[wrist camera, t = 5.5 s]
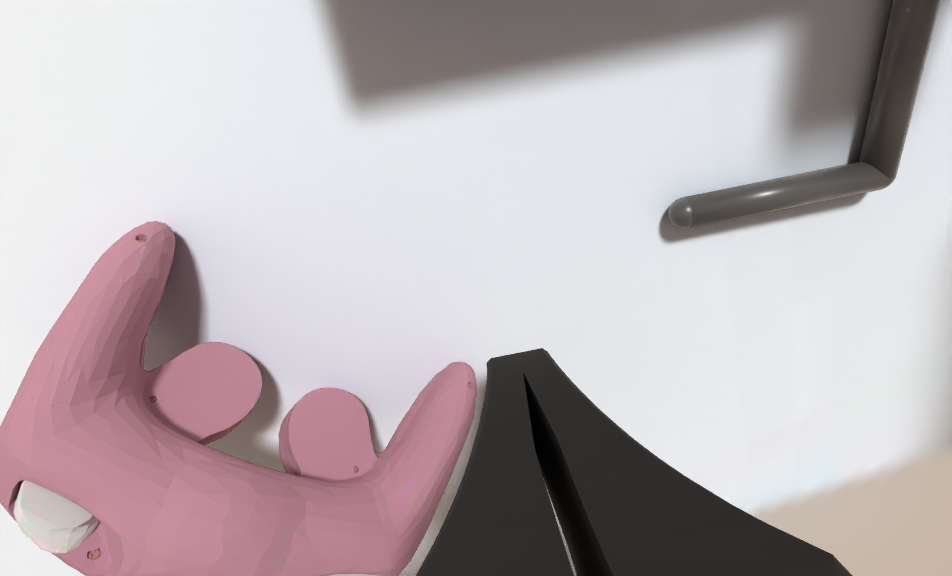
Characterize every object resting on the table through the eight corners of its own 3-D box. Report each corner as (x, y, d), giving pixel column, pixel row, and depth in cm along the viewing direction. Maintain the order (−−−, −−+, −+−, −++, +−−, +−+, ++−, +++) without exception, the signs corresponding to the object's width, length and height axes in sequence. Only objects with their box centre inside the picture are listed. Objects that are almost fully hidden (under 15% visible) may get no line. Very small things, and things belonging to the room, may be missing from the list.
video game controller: (127, 286, 14) (-86, 556, 10) (133, 188, 11) (-179, 528, 6) (426, 409, 17) (369, 652, 13) (499, 362, 14) (455, 665, 10)
